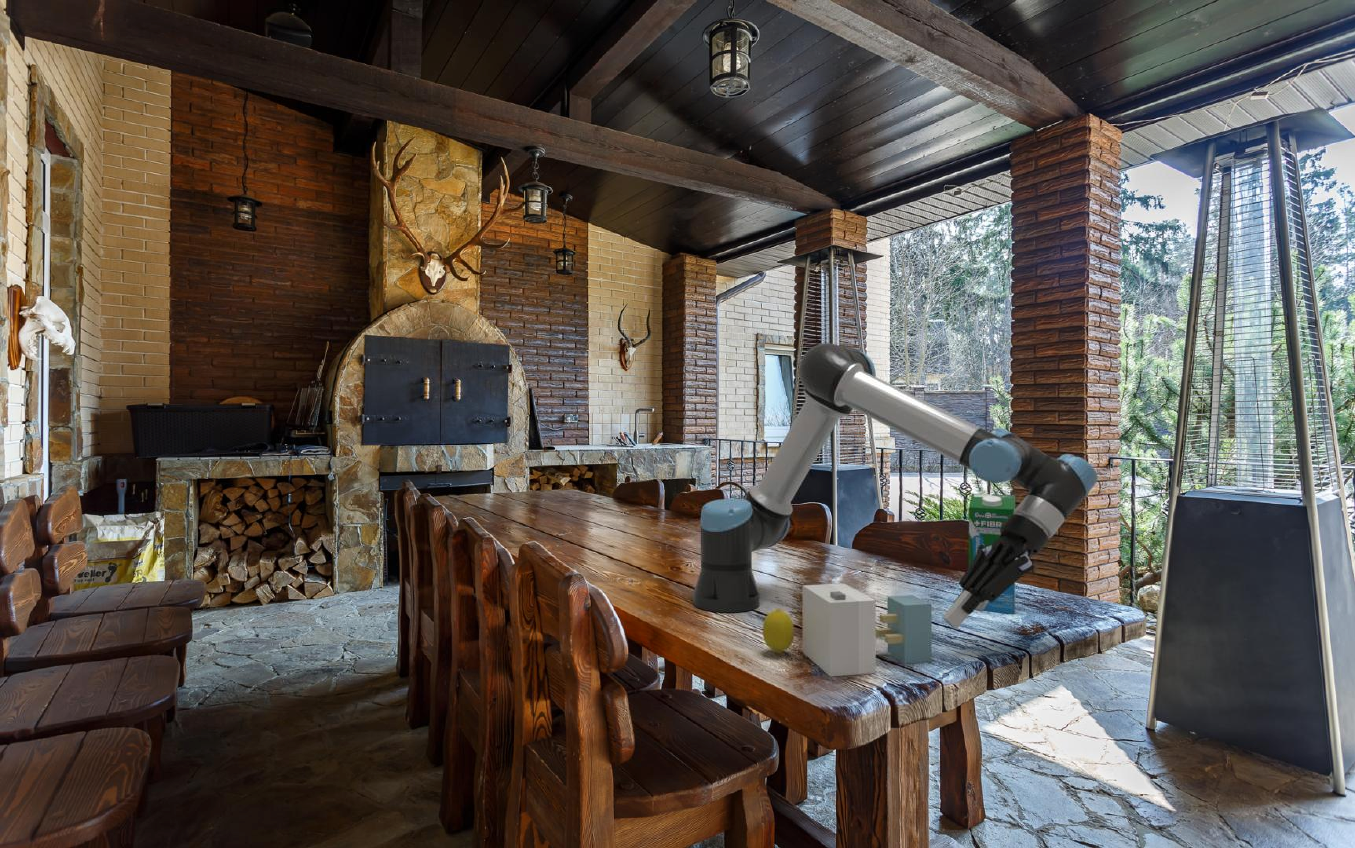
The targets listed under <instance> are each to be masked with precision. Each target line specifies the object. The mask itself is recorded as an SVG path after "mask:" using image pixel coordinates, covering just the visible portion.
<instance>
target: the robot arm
mask: <svg viewBox="0 0 1355 848" xmlns="http://www.w3.org/2000/svg"><path fill="white" fill-rule="evenodd" d="M798 366H799V368H798V375H799V380H800V382H801V384H802V386H803V387H804V389H803V395H804V398H805V401H804V403H803V404H802V407H801V408H800V410H799V412H798V413H797V415H796V417H795V419H794V421H793V422H792V424H791V427H790V428H789V430H788V431H787V433H786V436H785V437H784V439H783V441H782V442H781V445H780V446H779V448H778V450H777V452H776V454H775V456H773V459H772V461H771V462H770V464H769V466H768V468H767V470H766V472H765V473H764V474H763V477H762V478H761V480H760V482H759V484H756V485H751V486H750V488H749V489H748V490H747V492H746V494H745V496H744V498H732V497H731V498H724V499H716V500H711V501H709V502H706V503H705V504H704V505H703V506H702V508H701V513H700V520H699V525H700V571H699V574H698V578H697V581H696V584H695V588H694V591H693V594H692V595H693V596H692V597H693V601H692V603H693V606H695V607H696V608H698V609H701V610H704V611H709V612H716V613H740V612H747V611H751V610H754V609H757V608H758V607H759V606H760V592H759V589H758V586H757V582H756V579H755V576H754V573H753V568H752V565H753V563H752V561H753V560H752V559H753V558H752V557H753V556H752V555H753V552H756V551H760V550H763V549H764V550H765V549H768V548H771V547H774V546H775V545H777V544H778V543H781V541H782V540H783V539H785V537H786V536H787V534H788V532H789V530H790V526H791V521H790V517H791V515H792V513H793V510H794V509H793V505H792V503H791V502H792V501H793V499H794V497H795V496H796V494H797V492H798V490H799V488H800V487H801V485H802V483H803V481H804V480H805V478H806V476H807V475H808V473H809V471H810V470H811V467H812V466H813V464H814V462H815V461H816V459H817V458H818V455H819V454H820V452H821V451H822V449H823V447H824V445H825V443H826V442H827V440H828V438H829V437H830V435H831V433H832V432H833V430H834V428H835V426H836V425H837V423H838V421H839V420H840V419H841V418H844V417H848V416H849V415H850V413H852V410H853V409H854V410H855V411H858V412H860V413H861V414H863V415H865V416H867V417H869V418H871V419H873V420H874V421H876V422H878V423H880V424H883V425H885V426H886V427H888V428H891V430H894V431H896V432H898V433H900V434H902V435H903V436H906V437H908V438H910V439H911V440H914V441H915V442H917V443H919V444H921V445H923V446H925V447H927V448H928V449H931V450H933V451H934V452H937V453H939V454H940V455H942V456H945V457H946V458H949V459H950V460H952V461H954V462H956V463H958V464H960V465H962V466H963V467H965V468H967V469H968V470H970V471H971V472H972V473H973V474H974V475H975V476H976V477H977V478H978V479H980V480H982V481H984V482H987V483H992V484H1000V483H1005V482H1008V481H1013V482H1015V483H1016V484H1017V485H1019V486H1020V487H1022V488H1023V489H1025V490H1027V491H1029V493H1028V494H1027V495H1026V496H1025V497H1024V498H1023V500H1022V501H1021V502H1020V503H1019V504H1018V505H1017V506H1016V507H1015V510H1014V512H1013V515H1010V516H1009V518H1008V519H1007V520H1006V521H1005V522H1004V523H1003V525H1002V526H1001V527H1000V532H1001V536H1000V538H998V539H997V540H996V541H994V542H993V544H992V545H991V546H988V547H985V546H984V545H983V544H982V545H980V546H979V547H978V550H977V554H976V556H975V557H974V559H973V561H972V562H971V564H970V566H969V565H968V567H967V569H966V570H965V572H964V573H963V576H962V577H961V579H959V583H958V585H959V586H960V587H961V588H962V591H961V592H960V594H959V595H958V596H957V598H955V600H954V601H953V602H952V605H951V606H950V607H949V608H948V609H947V610H946V611H945V613H944V614H943V615H942V619H943V620H944V621H945V622H946V623H947V624H948V625H949V626H950V627H951V628H953V629H955V630H958V629H959V627H960V626H961V625H962V624H963V622H964V621H965V620H966V619H967V618H968V617H969V615H971V614H972V613H973V612H974V611H976V610H975V608H976V607H977V606H978V605H979V604H980V603H981V602H984V601H985V600H988V601H989V602H993V601H994V600H995V599H997V598H998V597H999V596H1000V595H1001V594H1002V593H1003V592H1005V591H1006V590H1007V589H1008V588H1009V587H1010V586H1011V585H1012V584H1014V583H1015V584H1016V582H1018V581H1019V579H1021V578H1022V577H1023V576H1024V575H1025V574H1027V573H1030V572H1031V571H1033V570H1034V569H1035V568H1036V567H1035V565H1034V563H1033V562H1032V561H1031V560H1030V558H1031V556H1036V555H1038V554H1039V553H1041V550H1043V548H1044V547H1045V546H1046V545H1047V543H1049V539H1051V538H1052V537H1053V536H1054V535H1055V533H1056V532H1057V531H1058V530H1059V529H1060V528H1061V526H1062V525H1063V524H1064V523H1065V522H1066V520H1067V519H1068V518H1069V517H1070V516H1071V514H1073V512H1075V510H1076V509H1077V508H1078V506H1079V505H1080V504H1081V503H1083V501H1084V500H1085V498H1086V497H1087V496H1088V494H1089V493H1090V492H1091V490H1092V489H1093V487H1095V485H1096V484H1097V481H1098V473H1097V471H1096V469H1095V468H1094V466H1092V465H1091V463H1089V462H1088V461H1087V460H1086V459H1084V458H1082V457H1080V456H1075V455H1074V454H1072V453H1071V454H1070V453H1065V454H1061V456H1060V457H1057V458H1054V457H1052V456H1050V455H1048V454H1047V453H1044V452H1043V451H1041V450H1040V449H1038V448H1036V447H1035V446H1033V445H1032V444H1030V443H1028V442H1027V441H1025V440H1023V439H1022V438H1020V437H1019V436H1018V435H1017V434H1015V433H1013V432H1010V431H1008V430H1006V429H1005V428H1003V427H996V428H994V429H993V430H991V432H990V431H988V430H985V429H983V428H981V427H980V426H977V425H976V424H973V423H971V422H969V421H967V420H966V419H963V418H961V417H959V416H957V415H955V414H953V413H951V412H949V411H946V410H945V409H943V408H940V407H939V406H936V405H934V404H932V403H931V402H928V401H925V400H924V399H921V398H919V397H917V396H915V395H914V394H913V393H909V392H907V391H906V390H904V389H901V388H899V387H897V386H895V385H893V384H891V383H889V382H887V381H884V380H883V379H881V378H878V377H876V376H877V374H876V367H875V365H874V363H873V361H872V359H871V358H870V357H869V356H868V354H866V353H865V352H863V351H860V349H856V348H855V347H850V346H845V345H844V346H843V345H839V344H835V343H828V342H827V343H826V342H825V343H819V344H817V345H815V346H812V347H811V348H810V349H808V350H807V351H806V353H805V354H804V355H803V356H802V358H801V360H800V362H799V365H798ZM991 593H992V594H991Z"/></svg>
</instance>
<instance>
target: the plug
mask: <svg viewBox="0 0 1355 848" xmlns="http://www.w3.org/2000/svg"><path fill="white" fill-rule="evenodd" d="M879 622H880V623H882V624H887V627H877V628H876V636H877V637H878V638H884V642H885V643H887V653H888V654H889V655H891V656H893V657H894V658H896V659H897V660H899V661H900V662H902V663H903V664H905V665H907V664H917V663H916V662H921V663H931V662H932V660H933V657H932V652H933V651H932V650H933V649H932V648H933V647H932V645H933V644H932V640H933V639H932V630H933V629H932V625H933V624H932V623H933V622H932V603H930V602H928V601H927V600H924V599H922V598H919V597H918V596H916V595H913V594H907V595H894V596H893V595H891V596H890V595H889V596H887V613H881V614H879Z"/></svg>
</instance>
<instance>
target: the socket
mask: <svg viewBox="0 0 1355 848" xmlns="http://www.w3.org/2000/svg"><path fill="white" fill-rule="evenodd" d="M876 605H877V604H876V600H875V599H874V598H872V597H870V596H869V595H866V594H864V593H863V592H861V591H860V590H857V589H855V588H853V587H852V586H850V585H848V584H846V583H827V584H826V583H825V584H824V583H823V584H807V585H805V584H803V585H802V653H803V654H804V655H805V656H806V657H808V658H809V659H810V660H811V661H812V662H813V663H815V665H817V666H818V667H819V669H821V670H822V671H823V672H824V673H826V674H827V675H828V676H829V677H830V678H831V677H844V676H855V675H857V676H858V675H866V674H867V675H868V674H876V673H877V671H876V669H877V664H876V663H877V662H876V658H877V656H876V654H877V653H876V650H877V646H876V645H877V644H876V643H877V642H876V641H877V638H876V627H877V626H876V625H877V624H876V619H877V616H876V615H877V614H876V613H877V609H876Z"/></svg>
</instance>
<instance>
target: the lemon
mask: <svg viewBox="0 0 1355 848" xmlns="http://www.w3.org/2000/svg"><path fill="white" fill-rule="evenodd" d="M794 628H795V627H794V623H793V620H792V618H791V616H789V614H788V613H786V612H785V611H783V610H781V609H780V608H776V609H775V610H773V611H771V612H770V613H768V614H767V615H766V617H765V619H764V622H763V626H762V637H763V639H764V643H765V644H766V646H767V647H768V648H769V649H770V650H773V651H774V652H775V653H776V654H778V655H780V654H781V653H783V651H786V650H787V649H789V648H790V647H791V645H792V644H793V641H794V638H795V637H794V635H795V629H794Z"/></svg>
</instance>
